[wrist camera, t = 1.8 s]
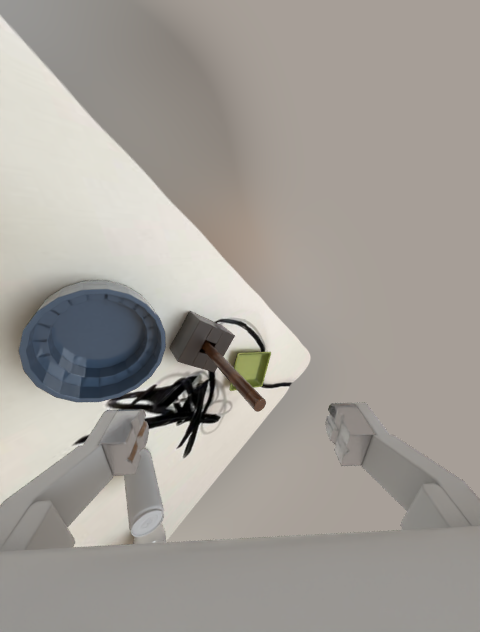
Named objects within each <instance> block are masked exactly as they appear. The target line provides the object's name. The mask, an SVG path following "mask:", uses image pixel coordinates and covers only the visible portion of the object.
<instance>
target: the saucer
mask: <svg viewBox="0 0 480 632" xmlns="http://www.w3.org/2000/svg"><path fill="white" fill-rule="evenodd" d="M270 356H271V352H247V353H238V354H237V357H236V361H235V366H234V368H235V370H236V371H237V372H238V373H239V374H240V375H241V376H242V377H243V378H244V379H245V380H246V381H247V382H248V383H249V384H250V385H251V386H252V387H253V388H254V387H261V386H262V385H263V381H264V378H265V374H266V370H267V367H268V363H269V359H270ZM234 390H237V389H236V388H235V387H234V386H233V384H232V383H230V391H234Z"/></svg>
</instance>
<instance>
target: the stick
mask: <svg viewBox="0 0 480 632" xmlns="http://www.w3.org/2000/svg"><path fill="white" fill-rule="evenodd" d="M201 348H202V349H203V351H204V352H205V353H206V354H207V355H208V356H209V358H210V359H211V360H212V361H213V362H214V363H215V365H216V366H217V367H218V368H219V369H220V370H221V372H222V373H223V374H224V375H225V376H226V377H227V379H228V380H229V381H230V382H231V383H232V384H233V386H234V387H235V388H236V389H237V390H238V391H239V393H240V394H241V395H242V396H243V397H244V398H245V400H246V401H247V402H248V403H249V404H250V405H251V407H252V408H253V409H254V410H255V411H261V410H262V409H263V408H264V407H265V405H266V401H265V399H264V398H263V397H262V396H261V395H260V394H259V393H258V392H257V391H256V390H255V389H254V388H253V387H252V386H251V385H250V384H249V383H248V382H247V381H246V380H245V379H244V378H243V377H242V376H241V375H240V374H239V373H238V372H237V371H236V370H235V368H234V367H233V366H232V365H231V364H230V363H229V362H228V361H227V360H226V359H225V358H224V357H223V356H222V355H221V354H220V353H219V352H218V351H217V350H216V349H215V348H214V347H213V346H212V345H211V344H210V343H209V342H208V341H207V340H205V342H204V344H203V345H202V347H201Z"/></svg>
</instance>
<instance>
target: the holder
mask: <svg viewBox="0 0 480 632" xmlns="http://www.w3.org/2000/svg"><path fill="white" fill-rule="evenodd" d="M234 336H235V335H233V334H232V333H231V332H230V331H228V330H227V329H226V328H225V327H223V326H222V325H220V324H217V323H215V322H213V321H211V320H209V319H207V318H204V317H202V316H200V315H198V314H196V313H193V312H191V311H190V312H189V313H188V315H187V317H186V319H185V321H184V323H183V324H182V326H181V328H180V330H179V332H178V334H177V335H176V337H175V339H174V341H173V343H172V345H171V346H170V350H171V351H172V353H173V355H174V356H175V358H176V360H177V361H178V362H181V363H184V364H188V365H191V366H194V367H198V368H201V369H205V370H208V371H212V372H215V371H216V369H217V366H216V365H215V363H214V362H213V361H212V360H211V359H210V358H209V356H208V355H207V354H206V353H205V352H204V351H203V349H202V348H201V347H202V345H203V344H204V342H205V340H207V341H208V342H209V343H210V344H211V345H212V346H213V347H214V348H215V349H216V350H217V351H218V352H219V353H220V354H221V355H222V356H224V354H225V353H226V351H227V349H228V347H229V345H230V344H231V342H232V340H233V338H234Z"/></svg>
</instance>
